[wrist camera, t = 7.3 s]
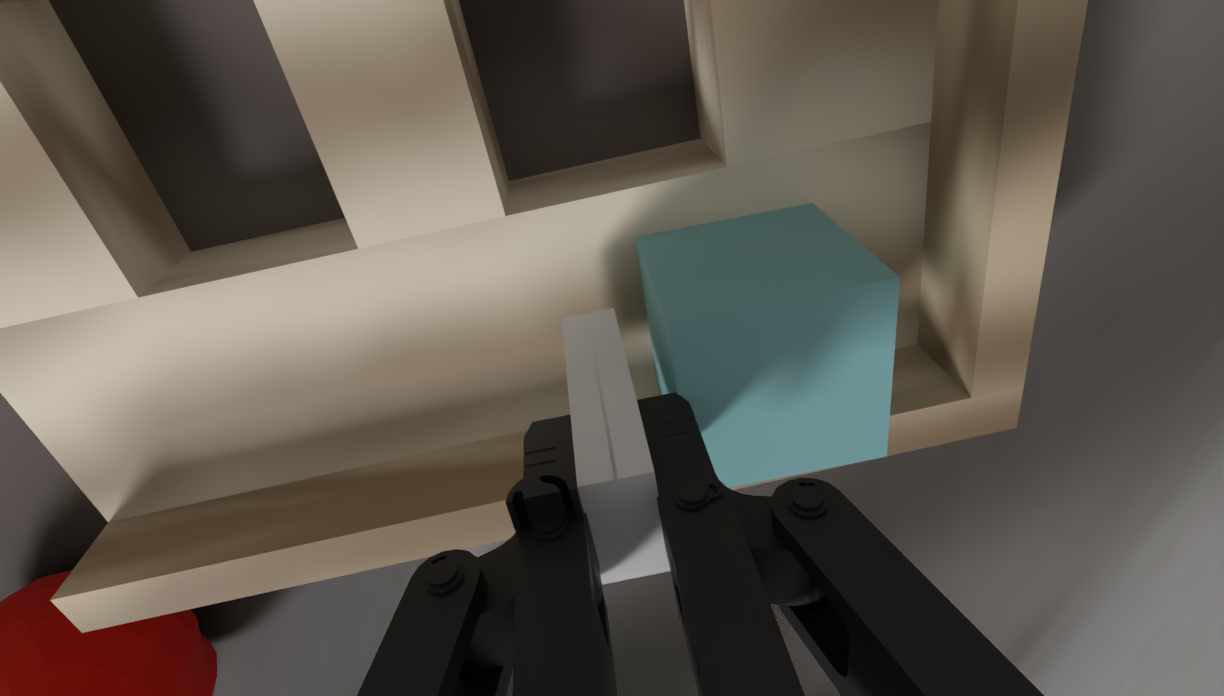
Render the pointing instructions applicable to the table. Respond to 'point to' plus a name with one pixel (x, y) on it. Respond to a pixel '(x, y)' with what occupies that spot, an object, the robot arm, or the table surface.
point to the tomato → (98, 651)
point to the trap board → (462, 242)
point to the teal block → (774, 340)
